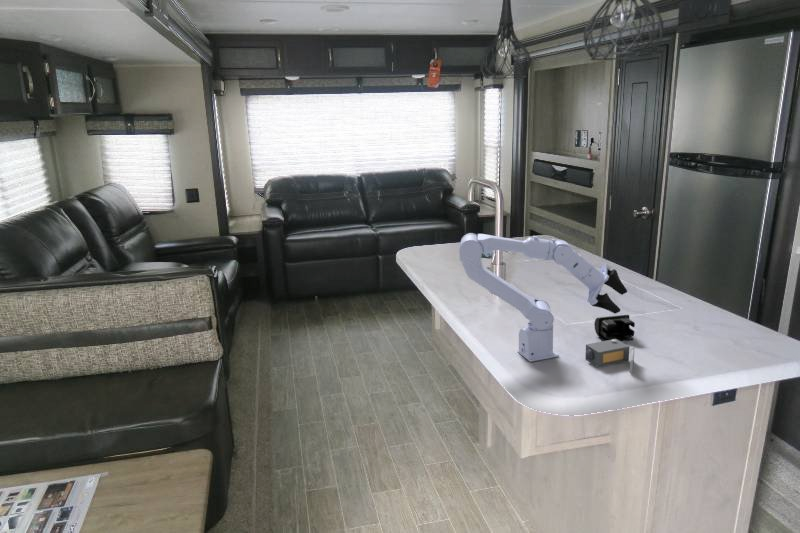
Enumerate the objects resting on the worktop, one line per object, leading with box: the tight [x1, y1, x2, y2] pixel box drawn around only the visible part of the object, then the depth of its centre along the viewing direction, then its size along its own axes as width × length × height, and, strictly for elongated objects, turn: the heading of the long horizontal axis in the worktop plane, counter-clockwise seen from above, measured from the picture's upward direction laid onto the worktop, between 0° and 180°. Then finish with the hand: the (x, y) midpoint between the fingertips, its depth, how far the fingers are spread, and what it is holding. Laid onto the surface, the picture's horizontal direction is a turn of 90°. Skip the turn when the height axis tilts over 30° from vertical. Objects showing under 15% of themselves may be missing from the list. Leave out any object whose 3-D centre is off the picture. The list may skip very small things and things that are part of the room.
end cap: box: [593, 314, 636, 342], centre depth 176 cm, size 10×7×7 cm
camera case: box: [585, 339, 631, 368], centre depth 161 cm, size 11×6×5 cm, turn 106°
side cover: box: [629, 346, 635, 374], centre depth 156 cm, size 9×1×4 cm, turn 157°
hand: (621, 302), depth 161 cm, fingers open, 7 cm apart
